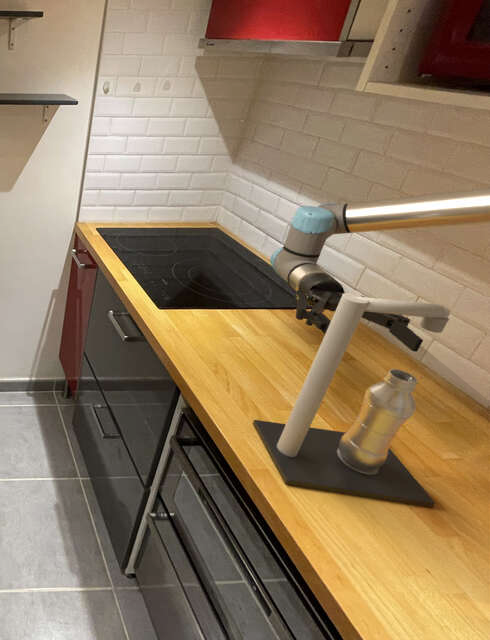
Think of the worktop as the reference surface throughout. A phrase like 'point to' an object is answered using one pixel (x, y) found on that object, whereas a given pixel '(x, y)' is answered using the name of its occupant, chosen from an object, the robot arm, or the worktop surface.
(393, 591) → the worktop surface
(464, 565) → the worktop surface
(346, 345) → the tap
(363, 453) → the plastic bottle
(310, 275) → the robot arm
